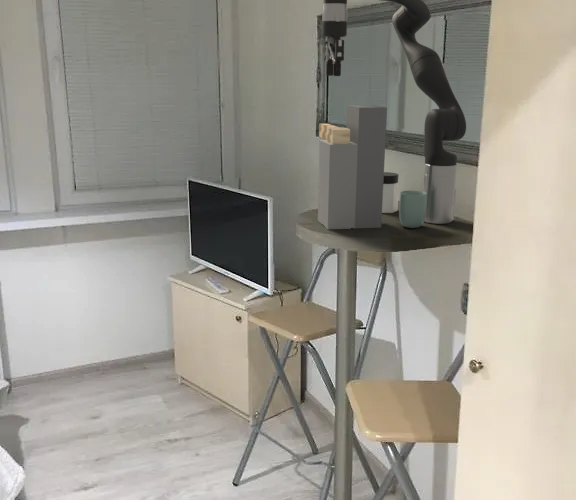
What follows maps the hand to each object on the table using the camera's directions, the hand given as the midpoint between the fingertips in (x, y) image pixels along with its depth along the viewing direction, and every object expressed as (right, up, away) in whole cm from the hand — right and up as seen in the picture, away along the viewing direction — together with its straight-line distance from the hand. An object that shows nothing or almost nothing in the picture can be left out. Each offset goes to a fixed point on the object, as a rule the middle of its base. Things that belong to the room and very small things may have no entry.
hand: (333, 75), depth 201 cm
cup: (+22, -47, -11) cm, 53 cm away
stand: (+4, -46, -8) cm, 47 cm away
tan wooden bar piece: (-1, -21, -9) cm, 23 cm away
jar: (+17, -41, +11) cm, 46 cm away
